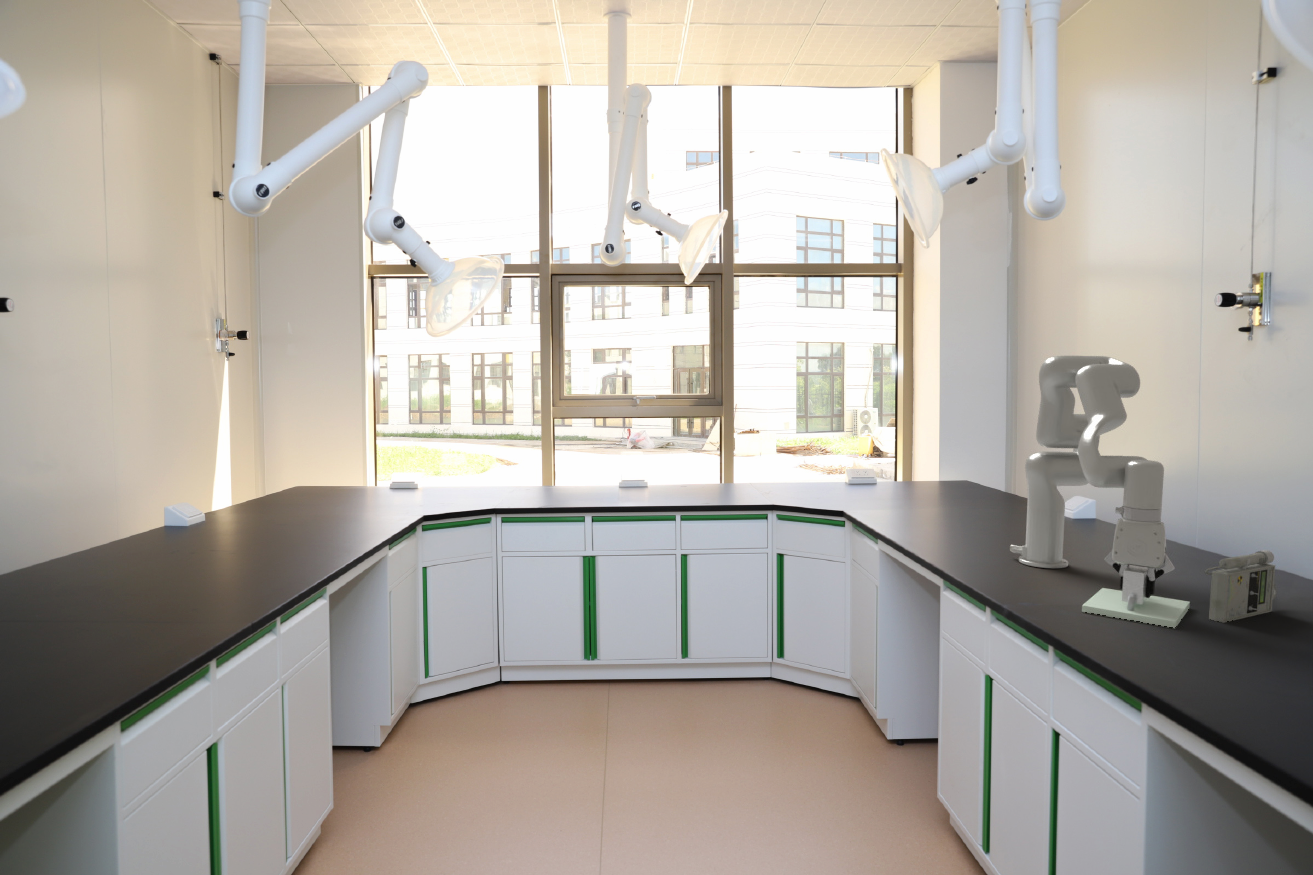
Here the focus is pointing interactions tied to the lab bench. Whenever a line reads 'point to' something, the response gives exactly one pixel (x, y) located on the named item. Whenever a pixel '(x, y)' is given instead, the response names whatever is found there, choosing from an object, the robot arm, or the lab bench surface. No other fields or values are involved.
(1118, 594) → the pin plate
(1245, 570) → the geiger counter
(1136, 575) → the block
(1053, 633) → the lab bench surface
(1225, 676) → the lab bench surface
